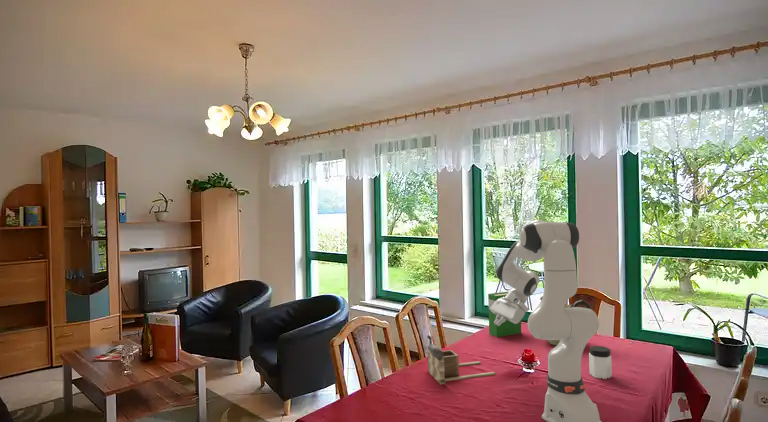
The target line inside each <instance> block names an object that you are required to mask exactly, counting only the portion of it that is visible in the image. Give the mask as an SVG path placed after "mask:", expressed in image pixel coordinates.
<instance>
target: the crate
mask: <svg viewBox="0 0 768 422" xmlns="http://www.w3.org/2000/svg"><path fill="white" fill-rule="evenodd" d="M441 351H442V352H443V353H444V356H443V358H442V360H444V371H445V378H449V377H457V376H460V369H459V367H460V366H459V364H460V363H459V355H458V354H457V353H456V352H455V351H454V350H452V349H448V350H441Z"/></svg>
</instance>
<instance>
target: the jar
mask: <svg viewBox="0 0 768 422" xmlns="http://www.w3.org/2000/svg"><path fill="white" fill-rule="evenodd" d="M588 364H589V366H588V367H589V368H588V369H589V375H590V376H592V377H593V378H595V379H601V378H602V379H601V380H607V378H608V379H611V378H612V377H613V373H612V371H613V370H612V369H613V368H612V367H613V366H612V354H611V349H610V348H609V347H606V346H602V345H601V346H600V345H593V346H590V347H589V353H588Z"/></svg>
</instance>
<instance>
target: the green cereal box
mask: <svg viewBox="0 0 768 422" xmlns="http://www.w3.org/2000/svg"><path fill="white" fill-rule="evenodd" d="M508 292H509V291H501V292H494V293H493V292H492V293H488V295H487V297H488V299H487V300H488V302H487V303H488V331H489V332H488V334H489V335H490V336H493V337H496V338H501V337H506V336H512V335H518V334H519V335H520V334H522V319H521V320H520V322H519V323H517V324H515V323H513V322H510V321H508V320H506V321H505V322H503V323H501V325H500V326H498V325H496V324H495V323H494V321H495V320H496V316H497V315H496V314H494V313H493V312H492V311H491V310H490V307H491V306H492V305H493V304H494V303H495V301H496V300H498V299H500V298H502V297H505V296H506V295H507V293H508Z"/></svg>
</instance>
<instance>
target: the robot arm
mask: <svg viewBox="0 0 768 422" xmlns="http://www.w3.org/2000/svg"><path fill="white" fill-rule="evenodd" d="M579 241H580V231H579V228H578V227H577V226H576V224H575V223H572V222H567V221H563V222H560V221H559V222H558V221H551V222H550V221H545V220H542V219H536V220H533V221H531V222H529V223H525V224H524V225H522V227H521V228H520V230H519V240H517V241H515V242H514V243H513V244H512V245H511V246H510V248H509V249H508V250H507V253H506V255H505V256H504V258H503V260H502V261H501V263H500V264H499V265H498V266H497V269H496V272H495V273H496V276H497V277H496V278H497V279H498V280H499V281H501V282H503V283H505V284H506V285H508V286H510V287H511V288H510V289H509V291H507V292H508V293H507V295H506V296H505V297H502V298H500V299H498V300H496V301H495V303H494V304H493V305H492V306H491V307H490V310H491V311H492V312H493V313H494V314H496V315H497V316H496V320H495V321H494V323H495V324H496V325H498V326H500V325H501V323H503V322H505V321H506V320H508V321H510V322H513V323H515V324H517V323H519V322H520V320H521V321H522V319H523V318H524V316H525V315H526V313H528V312H529V307H528V306H527V305H526V303H527V300H528V298H529V297H530V296H533V294H534V293H535V291H536V290H537V288H538V285H539V283H540V277H539V275H538V274H536V273H535V272H534V271H532V270H525V269H523V268H522V267H520V266H518V265H517V264H516V263H515V260H516V258H519V259H522V260H525V261H528V262H537V261H540V260H542V259H543V276H544V277H543V278H544V279H543V280H544V282H543V284H544V288H543V295H542V296H543V297H542V296H541V297H542V300H540V302H539V304H538V306H537V307H536V308H535V309H534V310H533V311H532V312H530V314H529V316H528V319H527V328H528V331H529V333H530V334H531V335H532V337H534V338H535V339H538V340H546V341H548V340H559V339H561V340H560V342H559V344H558V345H557V346H556V345H555V346H554V347H553V348H551V350H550V351H549V352H548V355H547V368H548V369H547V370H548V371H547V372H548V373H547V376H546V383H547V386H548V387H547V390H546V393H545V396H544V408H543V409H544V410H543V413H542V414H541V419H543V420H544V421H546V422H602V420H601V418H600V413H599V412H600V411H599V410H598V406H597V403H594V402H593V400H592V399H591V398H590V397H589V395H588V394H587V393H586V389H587V387H586V386H587V384H584V383H585V382H584V380H583V377H582V358H583V353H584V350H585V347H586V346H587V344H588V343H589V341H590V339H591V338H592V337H594V336H595V335H596V334H597V333H598V331H599V328H600V320H599V317H598V315H597V314H596V312H595V311H594V310H593V309H592V308H591V309H592V310H591V309H588V308H586V307H580V306H578V307H570V308H564V307H565V304H567V302H568V300H570V298H572V297H574V296H575V295H576V294H577V291H578V278H577V277H578V276H577V265H576V264H577V263H576V258H575V251H574V248H576V247H577V246H578V244H579Z"/></svg>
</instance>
